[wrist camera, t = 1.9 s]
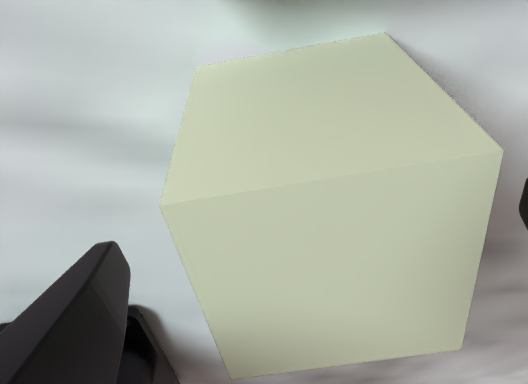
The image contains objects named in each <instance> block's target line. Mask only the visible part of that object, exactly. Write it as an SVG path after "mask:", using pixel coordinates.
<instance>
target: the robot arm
mask: <svg viewBox="0 0 528 384" xmlns="http://www.w3.org/2000/svg"><path fill="white" fill-rule="evenodd" d="M519 213H520V216H521V218H522V220H523V222H524V224H525V226H526V228H527V230H528V178H527V179H526V182H525V185H524V189H523V193H522V196H521V200H520V204H519ZM130 275H131V274H130V267H129V265H128V263H127V261H126V259H125V257H124V255H123V253H122V251H121V249H120V247H119V246H118V244H117V243H116V242H114V241H108V242H101V243H97V244H95V245H94V246H93V247H92V248H91V249H90V250H89V251H87V252H86V253H85V254H84V255H83V256H82V257H81V258H80V259H79V260H78V261H77V262H76V263H75V264H74V265H73V266H71V267H70V268H69V269H68V270H67V271H66V272H65V273H64V274H63V275H62V276H61V277H60V278H59V279H58V280H57V281H55V282H54V283H53V284H52V285H51V286H50V287H49V288H48V289H47V290H46V291H45V292H44V293H43V294H42V295H41V296H39V297H38V298H37V299H36V300H35V301H34V302H33V303H32V304H31V305H30V306H29V307H28V308H27V309H26V310H25V311H23V312H22V313H21V314H20V315H19V316H18V317H17V318H16V319H15V320H14V321H13V322H12V323H9V324H2V325H0V384H180V382H179V381H178V379H177V377H176V375H175V373H174V372H173V370H172V368H171V366H170V364H169V363H168V361H167V359H166V357H165V355H164V354H163V352H162V350H161V348H160V347H159V345H158V343H157V341H156V339H155V338H154V336H153V334H152V332H151V330H150V329H149V327H148V325H147V323H146V322H145V320H144V318H143V316H142V314H141V313H140V312H139V310H137V309H135V308H133V307H128V298H129V287H130Z"/></svg>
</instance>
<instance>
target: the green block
mask: <svg viewBox="0 0 528 384" xmlns="http://www.w3.org/2000/svg"><path fill="white" fill-rule="evenodd" d="M503 153H504V150H503V149H502V148H501V147H500V146H499V145H498V144H497V143H496V142H495V141H494V140H493V139H492V138H491V137H490V136H489V135H488V134H487V133H486V132H485V131H484V130H483V129H482V128H481V127H480V126H479V125H478V124H477V123H476V122H475V121H474V120H473V119H472V118H471V117H470V116H469V115H468V114H467V113H466V112H465V111H464V110H463V109H462V108H461V107H460V106H459V105H458V104H457V103H456V102H455V101H454V100H453V99H452V98H451V97H450V96H449V95H448V94H447V93H446V92H445V91H444V90H443V89H442V88H441V87H440V86H439V85H438V84H437V83H436V82H435V81H434V80H433V79H432V78H431V77H430V76H429V75H428V74H427V73H426V72H425V71H423V70H422V69H421V68H420V67H419V66H418V65H417V64H416V63H415V62H414V61H413V60H412V59H411V58H410V57H409V56H408V55H407V54H406V53H405V52H404V51H403V50H402V49H401V48H400V47H399V46H398V45H397V44H396V43H395V42H394V41H393V40H392V39H391V38H390V37H389V36H388V35H387V34H386V33H385V32H383V33H378V34H372V35H367V36H361V37H356V38H350V39H345V40H339V41H334V42H328V43H323V44H318V45H312V46H307V47H301V48H296V49H290V50H285V51H279V52H274V53H268V54H263V55H257V56H252V57H246V58H241V59H235V60H230V61H224V62H219V63H213V64H208V65H202V66H197V67H196V68H195V71H194V75H193V79H192V83H191V87H190V90H189V94H188V98H187V102H186V105H185V109H184V113H183V117H182V120H181V124H180V128H179V132H178V136H177V139H176V143H175V147H174V151H173V154H172V158H171V162H170V166H169V169H168V173H167V177H166V181H165V184H164V188H163V192H162V196H161V200H160V203H159V207H160V209H161V212H162V214H163V217H164V219H165V222H166V224H167V226H168V229H169V231H170V234H171V236H172V239H173V241H174V243H175V246H176V248H177V251H178V253H179V256H180V258H181V260H182V263H183V265H184V268H185V270H186V273H187V275H188V277H189V280H190V282H191V285H192V287H193V290H194V292H195V294H196V297H197V299H198V302H199V304H200V307H201V309H202V311H203V314H204V316H205V319H206V321H207V324H208V326H209V328H210V331H211V333H212V336H213V338H214V341H215V343H216V345H217V348H218V350H219V353H220V355H221V358H222V360H223V362H224V365H225V367H226V370H227V372H228V375H229V377H230V379H231V380H234V379H241V378H249V377H257V376H264V375H272V374H280V373H287V372H295V371H302V370H310V369H318V368H325V367H333V366H341V365H348V364H356V363H364V362H371V361H379V360H387V359H394V358H402V357H410V356H417V355H425V354H433V353H440V352H448V351H456V350H461V347H462V342H463V338H464V333H465V328H466V324H467V319H468V315H469V310H470V305H471V301H472V296H473V291H474V287H475V282H476V278H477V273H478V268H479V264H480V259H481V254H482V250H483V245H484V241H485V236H486V231H487V227H488V222H489V217H490V213H491V208H492V204H493V199H494V194H495V190H496V185H497V180H498V176H499V171H500V167H501V162H502V157H503Z"/></svg>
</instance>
